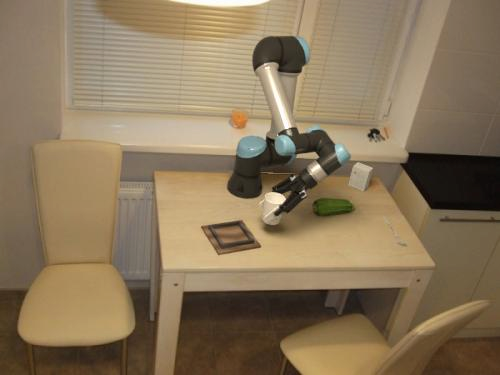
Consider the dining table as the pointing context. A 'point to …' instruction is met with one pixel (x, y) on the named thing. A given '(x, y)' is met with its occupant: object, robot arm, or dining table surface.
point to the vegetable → (332, 206)
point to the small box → (360, 176)
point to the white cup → (272, 206)
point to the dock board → (230, 237)
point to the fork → (394, 231)
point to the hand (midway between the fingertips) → (263, 212)
